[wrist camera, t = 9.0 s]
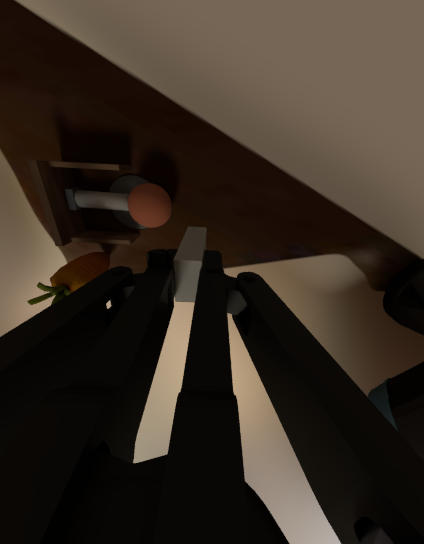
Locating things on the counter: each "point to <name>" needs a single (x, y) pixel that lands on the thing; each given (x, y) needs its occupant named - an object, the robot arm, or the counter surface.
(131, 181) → the pin disc
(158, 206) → the ball
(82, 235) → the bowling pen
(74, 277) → the carrot
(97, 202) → the pin
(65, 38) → the counter surface
